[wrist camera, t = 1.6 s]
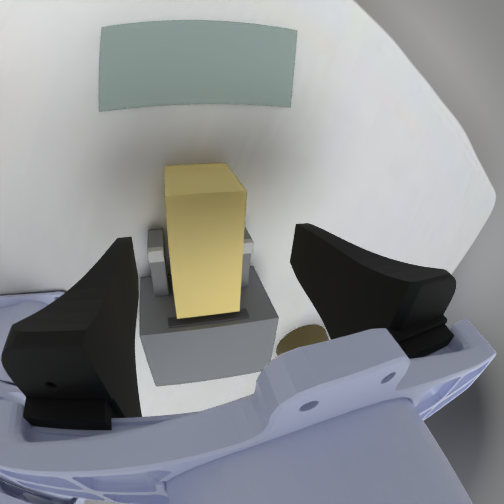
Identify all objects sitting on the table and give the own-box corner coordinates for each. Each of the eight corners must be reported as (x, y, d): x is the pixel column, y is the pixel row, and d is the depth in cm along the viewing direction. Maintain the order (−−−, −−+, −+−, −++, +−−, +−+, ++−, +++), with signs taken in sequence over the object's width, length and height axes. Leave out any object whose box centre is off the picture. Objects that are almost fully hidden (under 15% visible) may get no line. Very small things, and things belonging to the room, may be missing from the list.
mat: (100, 111, 14) (99, 111, 14) (102, 28, 12) (101, 27, 11) (288, 106, 18) (290, 107, 17) (294, 31, 15) (297, 30, 14)
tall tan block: (171, 268, 22) (177, 318, 18) (164, 165, 18) (164, 195, 13) (222, 263, 23) (239, 311, 19) (225, 162, 19) (246, 191, 14)
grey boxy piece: (152, 330, 25) (155, 386, 20) (133, 231, 19) (126, 284, 14) (248, 318, 27) (268, 369, 22) (257, 221, 22) (287, 268, 17)
